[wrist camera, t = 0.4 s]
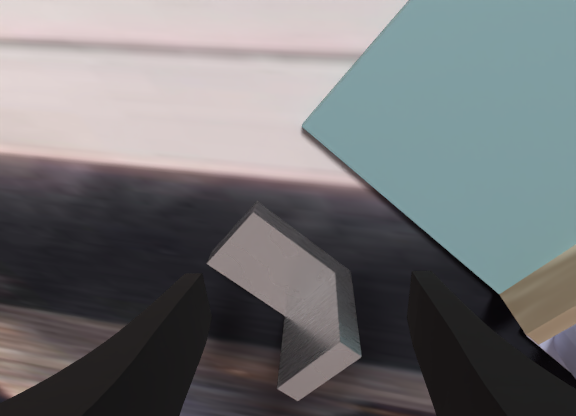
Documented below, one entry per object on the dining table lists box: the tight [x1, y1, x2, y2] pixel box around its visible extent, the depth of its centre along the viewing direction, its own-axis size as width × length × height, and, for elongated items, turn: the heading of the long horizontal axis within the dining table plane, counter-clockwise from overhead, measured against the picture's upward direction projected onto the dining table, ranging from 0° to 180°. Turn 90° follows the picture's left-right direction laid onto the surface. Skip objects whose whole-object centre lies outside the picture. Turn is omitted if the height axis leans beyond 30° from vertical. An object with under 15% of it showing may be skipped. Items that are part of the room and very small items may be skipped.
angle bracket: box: [207, 201, 362, 401], centre depth 21 cm, size 8×5×7 cm, turn 50°
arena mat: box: [302, 0, 576, 294], centre depth 18 cm, size 17×17×1 cm
